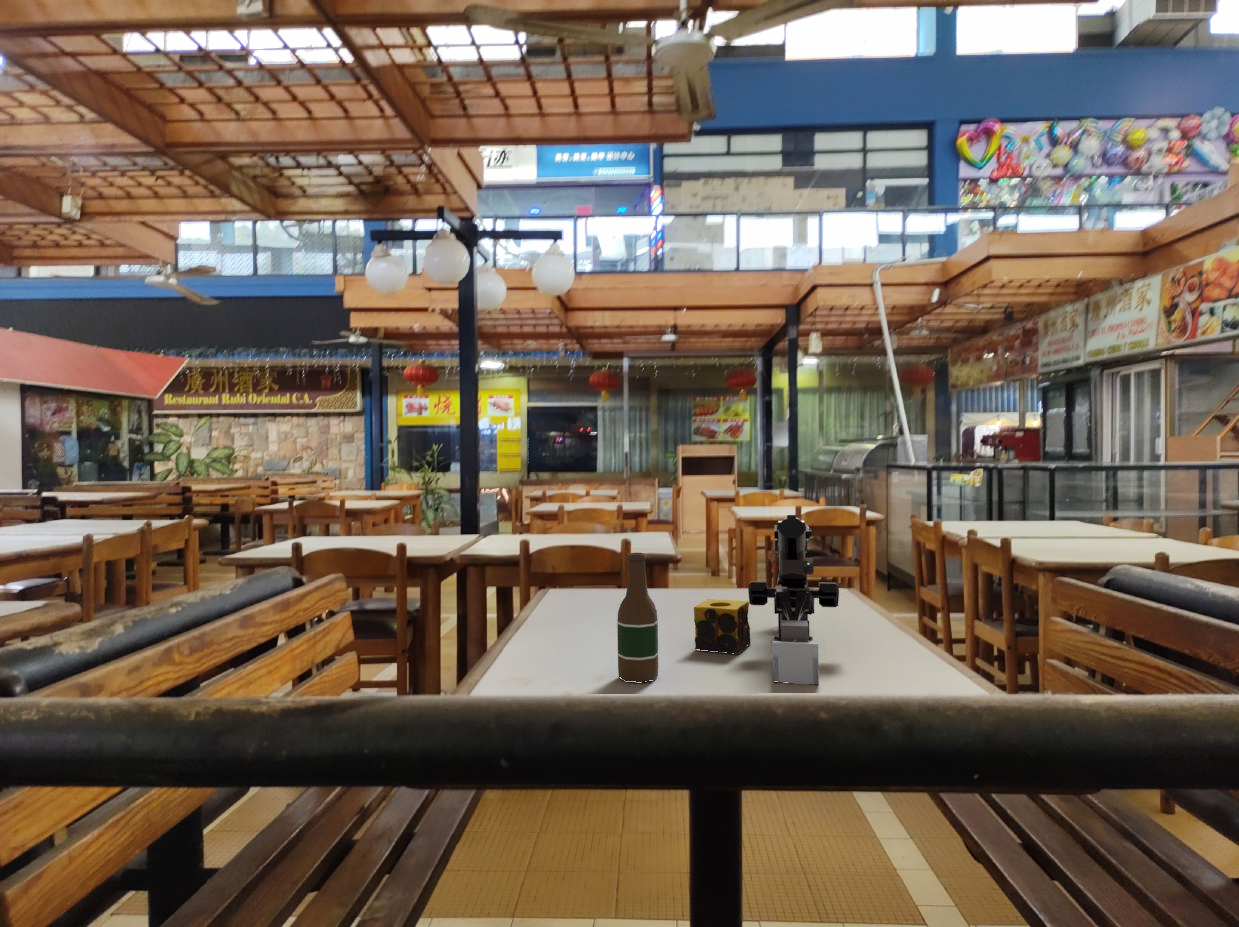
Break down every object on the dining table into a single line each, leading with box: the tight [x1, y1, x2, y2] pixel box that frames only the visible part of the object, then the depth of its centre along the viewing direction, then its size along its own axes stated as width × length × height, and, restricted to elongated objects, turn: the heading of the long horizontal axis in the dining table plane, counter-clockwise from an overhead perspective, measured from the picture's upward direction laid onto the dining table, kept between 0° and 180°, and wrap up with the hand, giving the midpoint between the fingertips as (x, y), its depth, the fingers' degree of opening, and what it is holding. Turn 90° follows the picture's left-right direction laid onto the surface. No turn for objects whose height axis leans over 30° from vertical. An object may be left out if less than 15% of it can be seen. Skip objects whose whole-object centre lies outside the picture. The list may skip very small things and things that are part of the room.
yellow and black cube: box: [693, 598, 751, 655], centre depth 160 cm, size 10×10×10 cm
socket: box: [772, 640, 820, 685], centre depth 137 cm, size 9×8×8 cm
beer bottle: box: [616, 552, 659, 682], centre depth 138 cm, size 8×8×24 cm
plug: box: [780, 620, 810, 642], centre depth 137 cm, size 6×5×10 cm
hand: (793, 628), depth 149 cm, fingers closed
